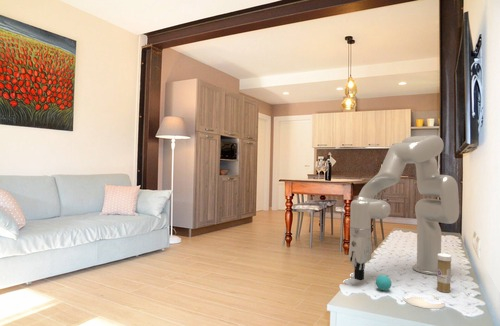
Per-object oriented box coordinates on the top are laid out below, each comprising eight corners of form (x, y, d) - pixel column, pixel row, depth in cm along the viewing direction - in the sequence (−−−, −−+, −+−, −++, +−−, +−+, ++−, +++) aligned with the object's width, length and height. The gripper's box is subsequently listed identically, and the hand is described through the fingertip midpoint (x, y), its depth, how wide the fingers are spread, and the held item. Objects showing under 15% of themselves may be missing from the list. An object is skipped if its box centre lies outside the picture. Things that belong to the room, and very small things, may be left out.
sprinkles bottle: (434, 289, 132) (434, 253, 132) (441, 287, 134) (442, 252, 134) (445, 293, 128) (446, 256, 128) (453, 291, 130) (454, 255, 130)
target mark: (410, 291, 130) (410, 290, 130) (450, 301, 121) (450, 300, 121) (396, 300, 121) (396, 300, 121) (438, 312, 112) (438, 311, 112)
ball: (379, 286, 134) (379, 272, 134) (393, 290, 131) (394, 275, 131) (372, 290, 130) (373, 275, 130) (387, 294, 127) (387, 278, 127)
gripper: (360, 236, 129) (359, 286, 129) (377, 231, 140) (376, 277, 140) (341, 233, 134) (340, 281, 134) (359, 228, 145) (359, 272, 145)
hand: (359, 279), depth 137 cm, fingers closed
